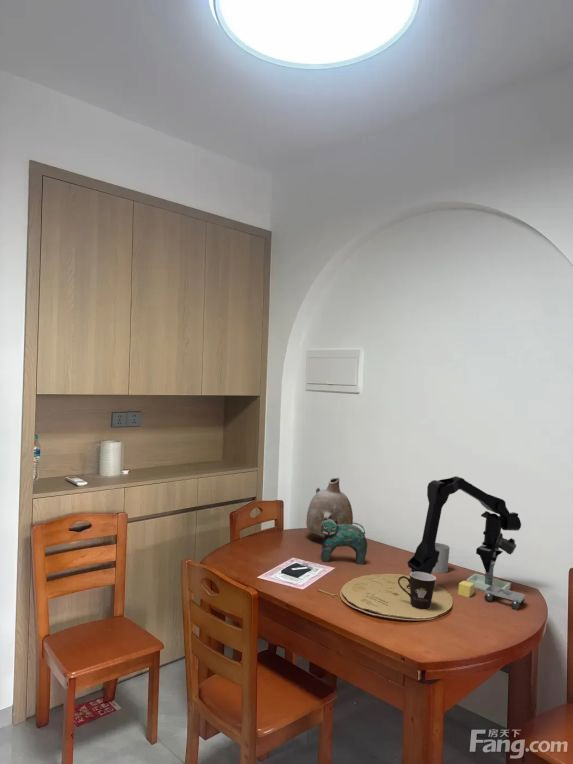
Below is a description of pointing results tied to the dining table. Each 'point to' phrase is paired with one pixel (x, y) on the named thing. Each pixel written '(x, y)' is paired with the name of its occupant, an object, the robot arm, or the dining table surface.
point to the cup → (442, 558)
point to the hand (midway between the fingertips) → (489, 570)
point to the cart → (505, 595)
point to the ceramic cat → (342, 539)
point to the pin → (489, 574)
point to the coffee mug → (420, 589)
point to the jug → (328, 507)
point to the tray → (480, 584)
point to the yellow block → (466, 588)
